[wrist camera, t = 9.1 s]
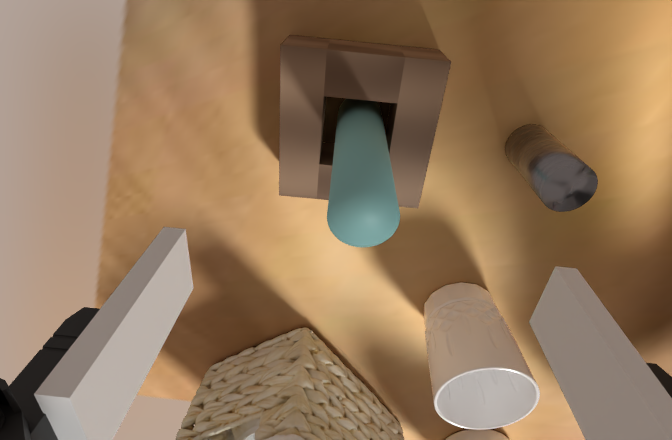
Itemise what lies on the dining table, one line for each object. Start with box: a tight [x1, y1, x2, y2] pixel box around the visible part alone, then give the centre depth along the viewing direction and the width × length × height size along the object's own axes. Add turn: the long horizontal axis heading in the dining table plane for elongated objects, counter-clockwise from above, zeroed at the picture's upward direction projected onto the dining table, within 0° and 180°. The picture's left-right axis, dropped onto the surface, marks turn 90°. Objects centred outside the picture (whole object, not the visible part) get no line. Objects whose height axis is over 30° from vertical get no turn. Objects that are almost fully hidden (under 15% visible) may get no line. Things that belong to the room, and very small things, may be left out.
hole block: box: [279, 35, 451, 208], centre depth 28 cm, size 10×10×4 cm
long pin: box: [327, 98, 400, 247], centre depth 24 cm, size 3×3×14 cm
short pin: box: [505, 125, 598, 212], centre depth 27 cm, size 3×3×7 cm
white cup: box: [424, 282, 540, 430], centre depth 35 cm, size 8×8×10 cm
